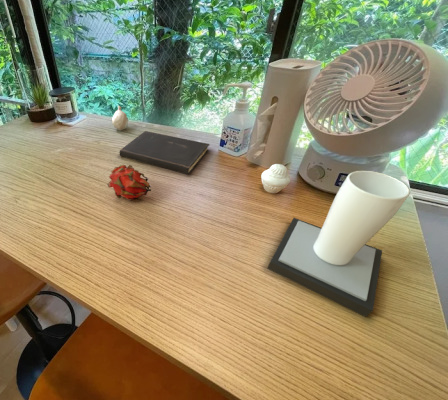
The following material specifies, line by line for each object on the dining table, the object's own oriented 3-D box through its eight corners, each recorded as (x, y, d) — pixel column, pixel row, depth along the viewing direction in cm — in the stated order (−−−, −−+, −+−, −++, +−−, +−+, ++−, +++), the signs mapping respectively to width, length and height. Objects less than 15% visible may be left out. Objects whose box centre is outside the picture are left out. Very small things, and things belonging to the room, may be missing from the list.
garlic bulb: (132, 126, 98) (130, 105, 93) (123, 133, 94) (121, 111, 89) (117, 124, 101) (115, 104, 96) (108, 130, 97) (106, 109, 92)
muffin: (258, 180, 66) (266, 156, 61) (285, 184, 63) (295, 160, 59) (256, 194, 61) (264, 169, 57) (285, 199, 59) (295, 174, 55)
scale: (376, 257, 45) (384, 248, 44) (365, 317, 38) (374, 308, 36) (290, 224, 53) (294, 215, 52) (267, 268, 45) (270, 259, 44)
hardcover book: (145, 136, 90) (145, 130, 89) (208, 150, 79) (209, 143, 78) (119, 157, 80) (119, 150, 79) (187, 175, 70) (188, 168, 68)
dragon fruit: (111, 189, 70) (148, 209, 65) (94, 189, 62) (134, 211, 57) (123, 160, 68) (162, 178, 63) (107, 156, 60) (150, 176, 56)
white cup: (328, 274, 41) (380, 203, 31) (298, 243, 46) (334, 174, 37) (365, 265, 42) (426, 193, 32) (331, 236, 47) (375, 166, 37)
